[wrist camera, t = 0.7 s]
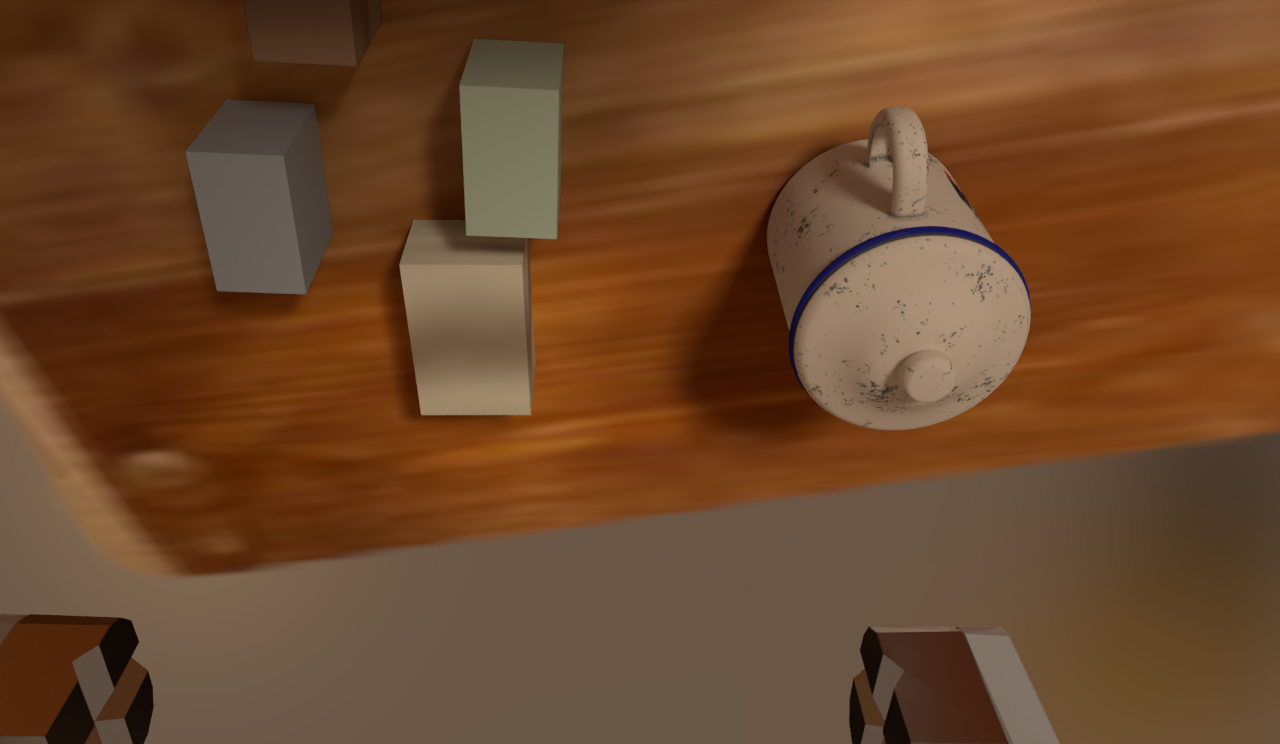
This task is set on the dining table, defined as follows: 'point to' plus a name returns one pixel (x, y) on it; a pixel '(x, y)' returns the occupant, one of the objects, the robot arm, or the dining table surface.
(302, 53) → the walnut block
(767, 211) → the dining table surface
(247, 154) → the grey block
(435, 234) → the maple block
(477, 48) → the sage block
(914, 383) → the teacup with lid
